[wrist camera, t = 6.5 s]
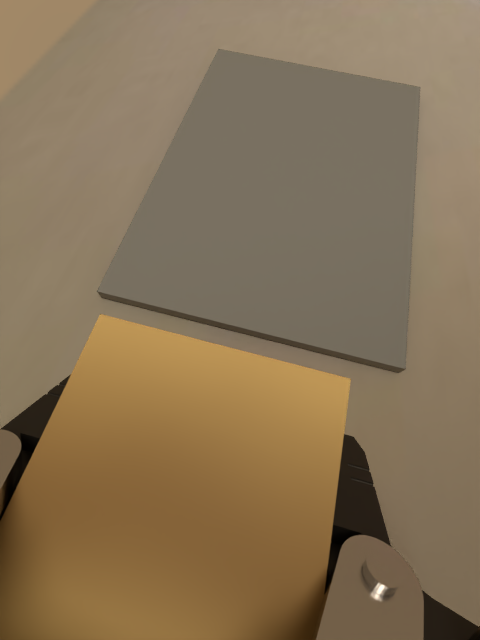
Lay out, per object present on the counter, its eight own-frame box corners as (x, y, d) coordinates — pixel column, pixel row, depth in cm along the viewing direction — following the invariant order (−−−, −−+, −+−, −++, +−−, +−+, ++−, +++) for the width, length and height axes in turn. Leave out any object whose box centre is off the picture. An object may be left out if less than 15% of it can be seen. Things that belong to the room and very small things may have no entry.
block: (167, 394, 14) (100, 313, 7) (283, 426, 13) (350, 378, 6) (120, 529, 12) (-54, 632, 5) (255, 571, 11) (304, 756, 4)
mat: (218, 58, 24) (218, 48, 23) (415, 96, 23) (420, 87, 22) (101, 297, 16) (96, 291, 15) (398, 372, 15) (405, 369, 14)
